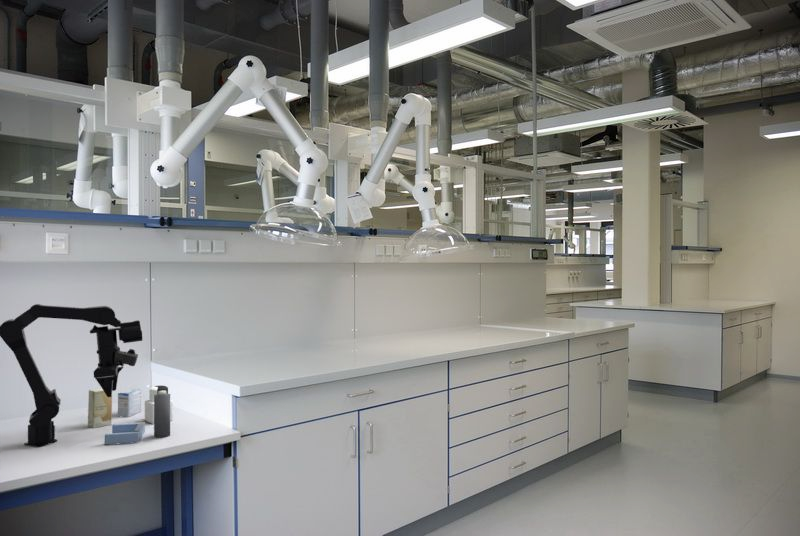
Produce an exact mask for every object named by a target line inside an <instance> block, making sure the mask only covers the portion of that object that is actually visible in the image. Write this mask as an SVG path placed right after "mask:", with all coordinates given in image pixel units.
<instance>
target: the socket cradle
mask: <svg viewBox="0 0 800 536" xmlns="http://www.w3.org/2000/svg"><path fill="white" fill-rule="evenodd" d="M111 427H112V428H111V429H112V431H111V432H110V433H104V437H103V438H104V442H103V443H104V444H112V445H118V444H117V443H126V444H132V443H131V442H138V443H140V441H139V440H141V439H142V438H143V435H144V434H145V432H146V422H130V423H129V422H128V423H114V424H111Z"/></svg>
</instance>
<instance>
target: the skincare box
mask: <svg viewBox="0 0 800 536" xmlns="http://www.w3.org/2000/svg"><path fill="white" fill-rule="evenodd" d="M87 405H88V410H87V426H88V427H90V428H93V429H96V428H99V427H104V426H105V425H106V426H110V424H111V425H112V418H113V417H112V415H113V414H112V412H113V408H112V407H113V395H112V396H111V397H107V395H106V394H105V392H104V391H103V389H102V387H101V388H95V389H88V404H87Z"/></svg>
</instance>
